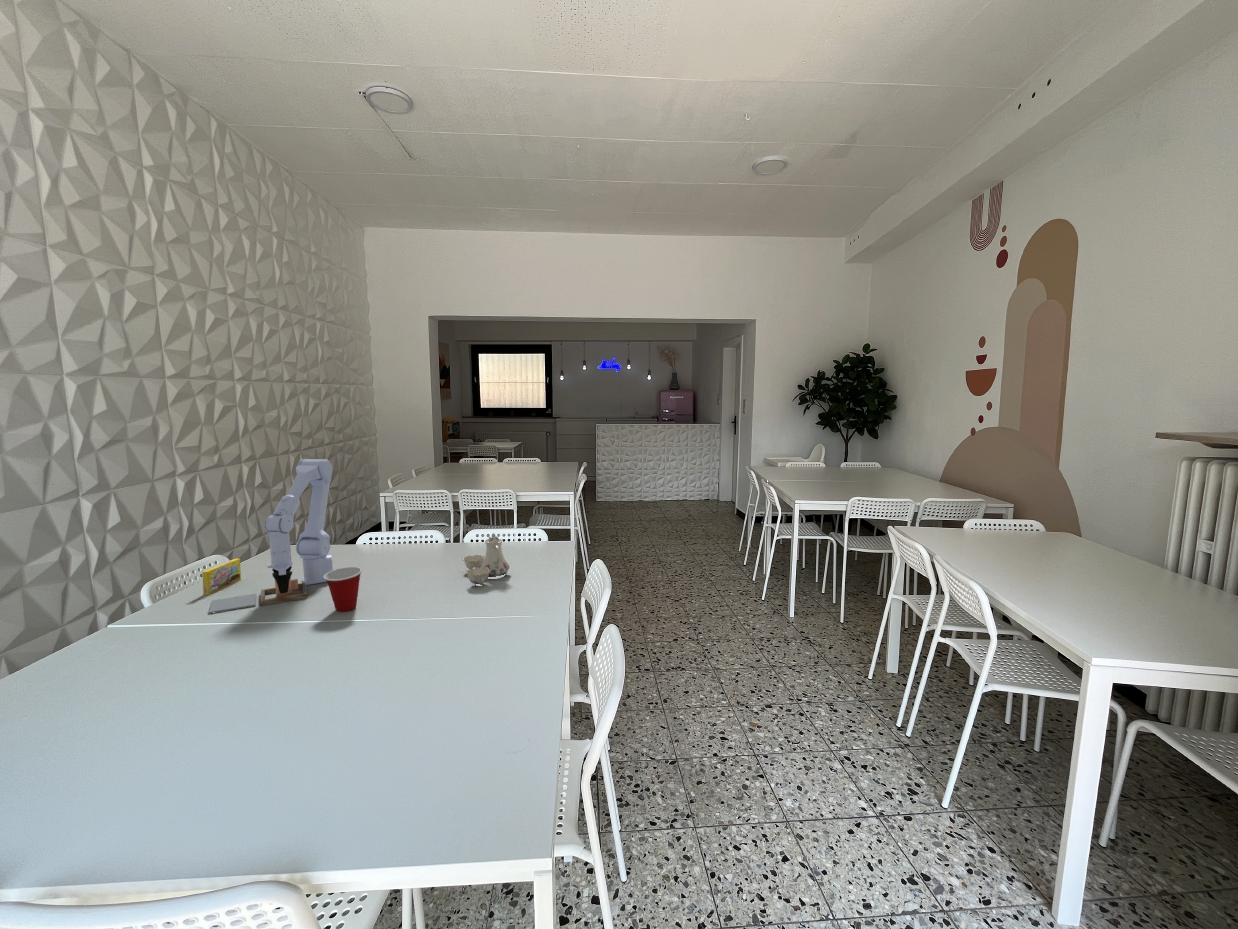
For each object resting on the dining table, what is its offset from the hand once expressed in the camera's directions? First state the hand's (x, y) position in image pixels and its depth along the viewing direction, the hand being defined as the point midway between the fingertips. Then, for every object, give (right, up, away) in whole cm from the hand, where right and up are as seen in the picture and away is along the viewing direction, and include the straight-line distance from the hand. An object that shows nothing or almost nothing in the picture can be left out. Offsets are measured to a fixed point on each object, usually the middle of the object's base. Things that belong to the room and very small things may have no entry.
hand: (283, 590), depth 188 cm
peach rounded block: (0, -2, 0) cm, 2 cm away
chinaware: (+63, 0, +19) cm, 66 cm away
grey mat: (-12, -3, -7) cm, 14 cm away
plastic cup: (+26, -3, -12) cm, 29 cm away
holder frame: (0, -2, 0) cm, 2 cm away
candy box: (-27, -1, +10) cm, 29 cm away
